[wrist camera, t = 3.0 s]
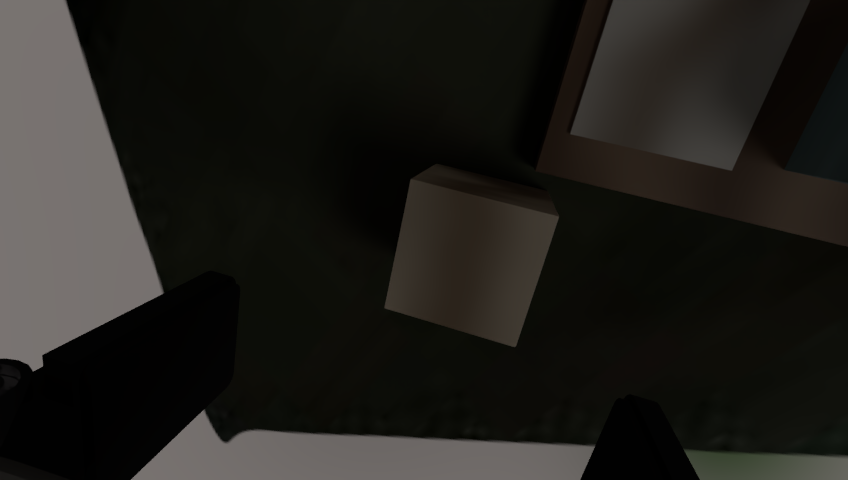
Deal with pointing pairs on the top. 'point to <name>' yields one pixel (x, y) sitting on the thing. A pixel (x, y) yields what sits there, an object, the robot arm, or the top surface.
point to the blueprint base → (710, 108)
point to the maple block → (470, 252)
